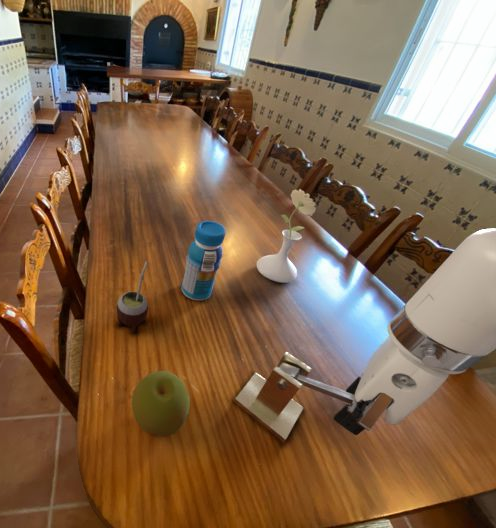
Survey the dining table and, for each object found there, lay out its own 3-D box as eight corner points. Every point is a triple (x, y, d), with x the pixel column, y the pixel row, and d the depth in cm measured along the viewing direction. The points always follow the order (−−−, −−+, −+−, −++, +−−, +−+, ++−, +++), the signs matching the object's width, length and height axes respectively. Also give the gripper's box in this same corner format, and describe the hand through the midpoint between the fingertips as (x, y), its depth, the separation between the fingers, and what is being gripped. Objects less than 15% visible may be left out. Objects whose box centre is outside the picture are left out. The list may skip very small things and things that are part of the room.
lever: (370, 399, 44) (371, 387, 43) (361, 423, 41) (362, 411, 40) (286, 368, 52) (285, 357, 52) (274, 386, 50) (273, 375, 49)
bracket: (301, 410, 56) (332, 374, 48) (283, 442, 52) (314, 408, 43) (253, 375, 61) (274, 336, 53) (233, 401, 57) (253, 364, 49)
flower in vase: (301, 286, 84) (344, 208, 68) (262, 286, 83) (297, 206, 67) (282, 258, 94) (316, 184, 78) (248, 257, 93) (275, 182, 78)
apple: (160, 380, 59) (166, 347, 52) (196, 419, 54) (208, 389, 47) (119, 412, 54) (120, 380, 47) (155, 459, 48) (162, 431, 41)
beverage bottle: (174, 292, 79) (186, 228, 66) (189, 276, 85) (203, 214, 72) (202, 307, 75) (220, 242, 63) (216, 289, 81) (235, 226, 68)
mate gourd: (119, 337, 67) (120, 289, 57) (114, 311, 72) (113, 263, 63) (151, 332, 68) (157, 284, 59) (143, 307, 74) (147, 260, 65)
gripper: (473, 416, 26) (362, 481, 37) (481, 315, 36) (391, 391, 47) (377, 360, 30) (303, 434, 41) (408, 283, 39) (341, 360, 51)
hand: (351, 410), depth 44 cm, fingers closed on lever, 5 cm apart
